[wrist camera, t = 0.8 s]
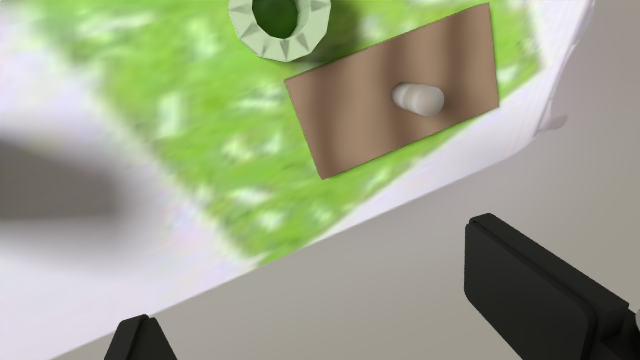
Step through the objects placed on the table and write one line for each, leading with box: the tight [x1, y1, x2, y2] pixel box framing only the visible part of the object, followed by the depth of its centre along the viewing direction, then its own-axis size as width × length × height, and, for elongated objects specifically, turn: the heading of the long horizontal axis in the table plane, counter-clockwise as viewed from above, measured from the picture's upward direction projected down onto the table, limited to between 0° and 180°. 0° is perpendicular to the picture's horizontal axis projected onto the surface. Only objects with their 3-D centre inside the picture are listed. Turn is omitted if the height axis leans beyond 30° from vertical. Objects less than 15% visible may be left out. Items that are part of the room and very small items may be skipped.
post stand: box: [284, 3, 499, 180], centre depth 29 cm, size 20×10×6 cm, turn 109°
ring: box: [228, 0, 331, 62], centre depth 25 cm, size 7×7×5 cm
